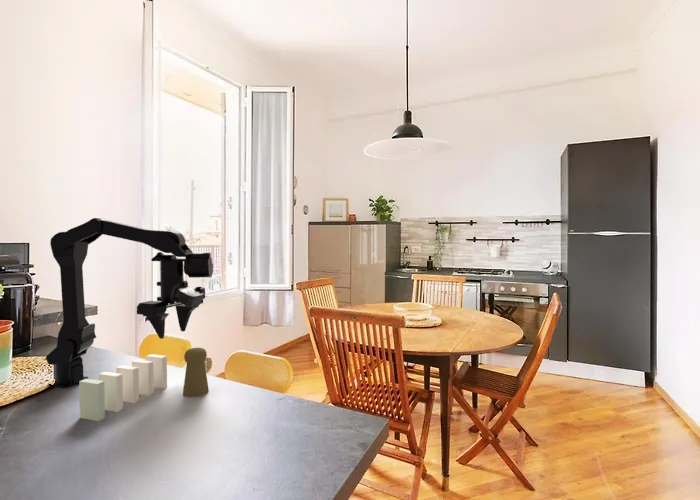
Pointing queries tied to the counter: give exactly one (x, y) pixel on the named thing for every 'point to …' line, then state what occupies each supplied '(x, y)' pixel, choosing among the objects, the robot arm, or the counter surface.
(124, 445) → the counter surface
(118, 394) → the domino
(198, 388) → the cork
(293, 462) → the counter surface
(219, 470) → the counter surface
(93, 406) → the sage domino
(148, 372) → the domino
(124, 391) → the domino
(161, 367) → the domino
